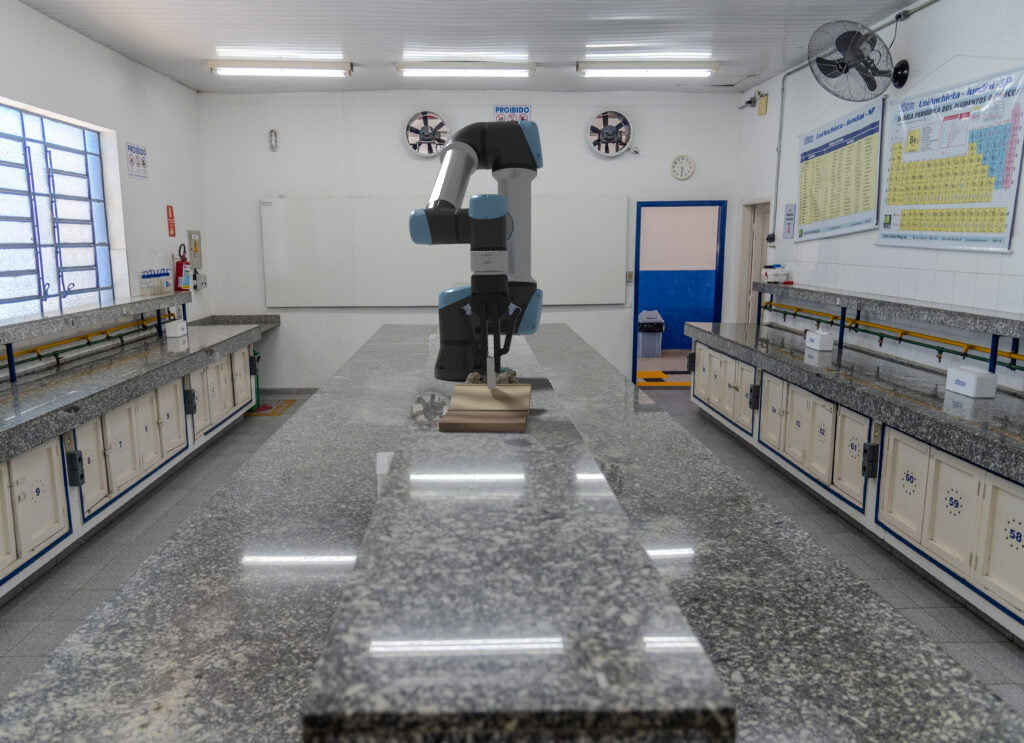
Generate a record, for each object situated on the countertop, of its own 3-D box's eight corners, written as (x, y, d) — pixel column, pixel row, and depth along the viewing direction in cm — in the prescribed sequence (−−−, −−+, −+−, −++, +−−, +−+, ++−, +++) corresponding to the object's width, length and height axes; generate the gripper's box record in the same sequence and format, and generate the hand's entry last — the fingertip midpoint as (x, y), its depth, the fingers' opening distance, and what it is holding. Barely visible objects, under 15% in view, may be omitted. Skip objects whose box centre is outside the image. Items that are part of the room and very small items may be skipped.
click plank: (456, 390, 150) (455, 383, 149) (531, 390, 148) (531, 383, 147) (449, 415, 141) (448, 409, 140) (528, 416, 140) (528, 409, 139)
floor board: (448, 417, 140) (448, 409, 140) (528, 417, 139) (528, 409, 138) (439, 431, 130) (438, 422, 130) (524, 431, 129) (524, 422, 129)
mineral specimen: (522, 386, 164) (509, 355, 163) (523, 391, 155) (510, 358, 154) (473, 406, 164) (460, 374, 164) (472, 412, 155) (458, 378, 154)
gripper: (454, 274, 138) (457, 391, 142) (520, 273, 137) (521, 391, 141) (460, 272, 146) (463, 384, 150) (522, 272, 145) (524, 384, 149)
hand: (491, 387), depth 146 cm, fingers closed
